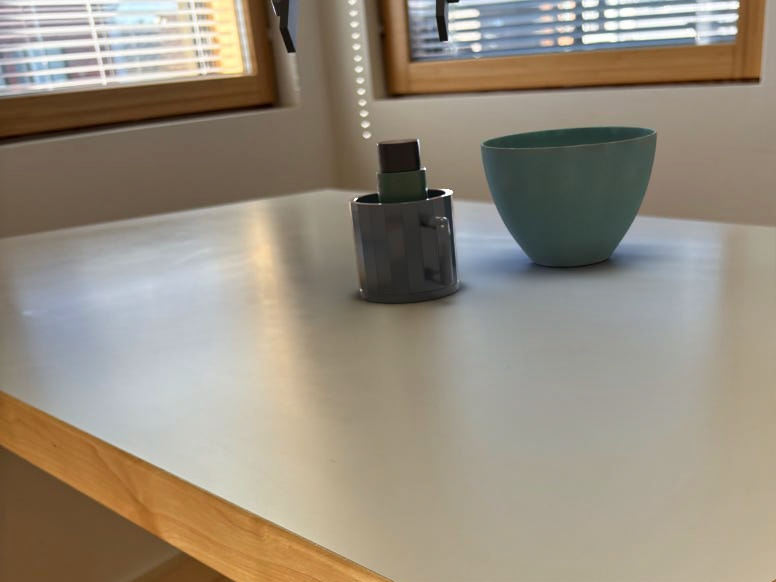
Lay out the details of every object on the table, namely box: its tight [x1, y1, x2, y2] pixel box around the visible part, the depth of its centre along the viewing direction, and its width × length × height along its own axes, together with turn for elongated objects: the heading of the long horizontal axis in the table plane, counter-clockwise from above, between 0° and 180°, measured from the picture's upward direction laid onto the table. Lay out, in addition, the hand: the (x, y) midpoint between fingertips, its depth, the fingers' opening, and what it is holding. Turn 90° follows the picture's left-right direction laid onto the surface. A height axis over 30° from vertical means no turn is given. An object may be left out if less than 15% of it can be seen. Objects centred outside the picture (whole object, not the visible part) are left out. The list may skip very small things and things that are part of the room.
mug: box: [348, 187, 460, 304], centre depth 101 cm, size 14×10×9 cm
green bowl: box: [479, 125, 658, 268], centre depth 110 cm, size 18×18×12 cm
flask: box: [375, 138, 428, 204], centre depth 101 cm, size 5×5×13 cm
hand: (364, 35), depth 89 cm, fingers open, 13 cm apart
